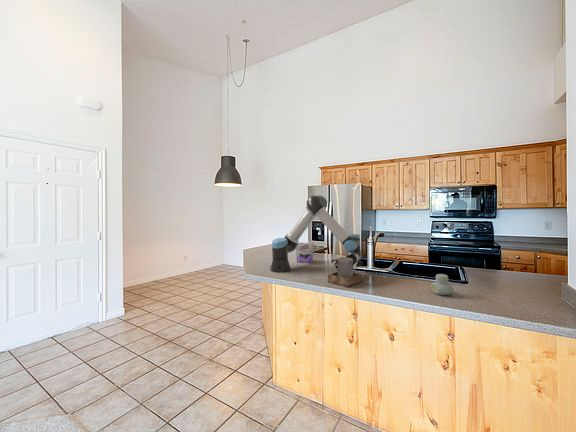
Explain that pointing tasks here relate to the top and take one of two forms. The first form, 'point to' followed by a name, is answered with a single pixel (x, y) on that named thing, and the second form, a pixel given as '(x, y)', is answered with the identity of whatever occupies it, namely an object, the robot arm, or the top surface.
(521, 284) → the top surface
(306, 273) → the top surface
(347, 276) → the pillar candle
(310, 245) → the candy box
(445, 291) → the air freshener
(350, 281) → the walnut crate
